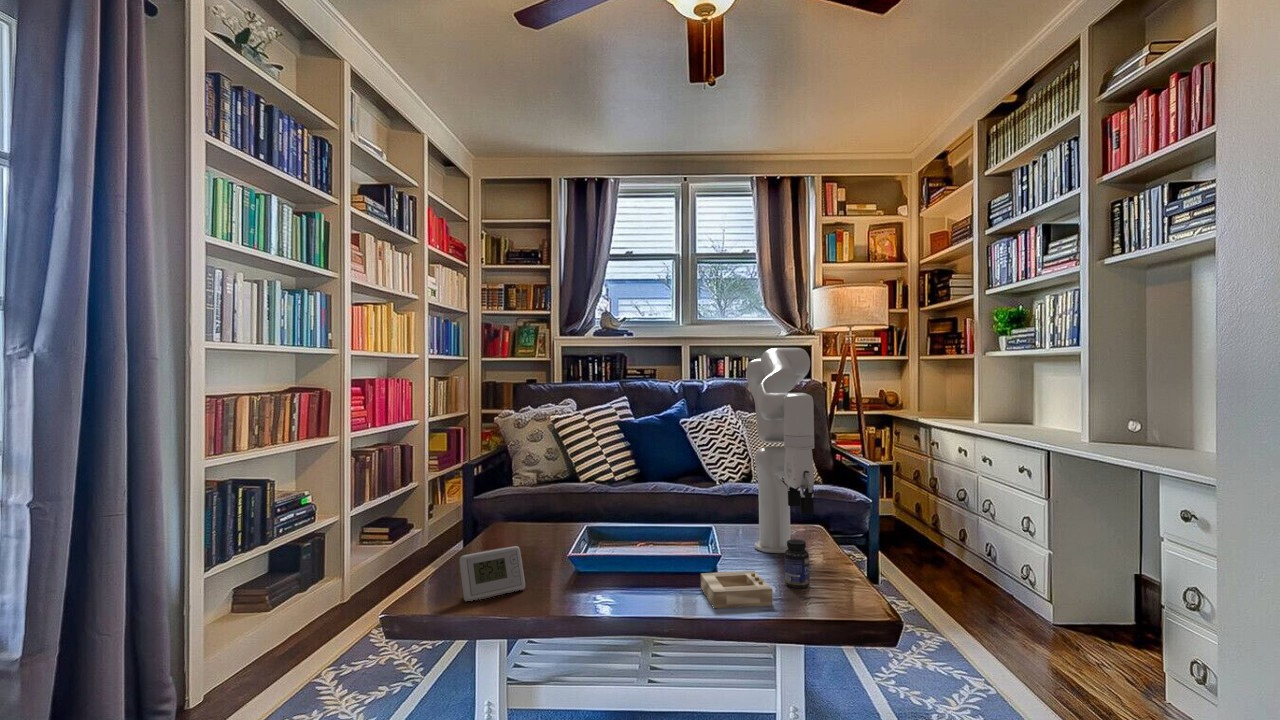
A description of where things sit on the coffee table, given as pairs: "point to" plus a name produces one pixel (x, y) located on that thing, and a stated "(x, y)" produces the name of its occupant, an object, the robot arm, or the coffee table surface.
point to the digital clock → (491, 573)
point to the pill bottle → (796, 564)
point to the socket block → (736, 589)
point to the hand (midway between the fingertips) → (800, 509)
